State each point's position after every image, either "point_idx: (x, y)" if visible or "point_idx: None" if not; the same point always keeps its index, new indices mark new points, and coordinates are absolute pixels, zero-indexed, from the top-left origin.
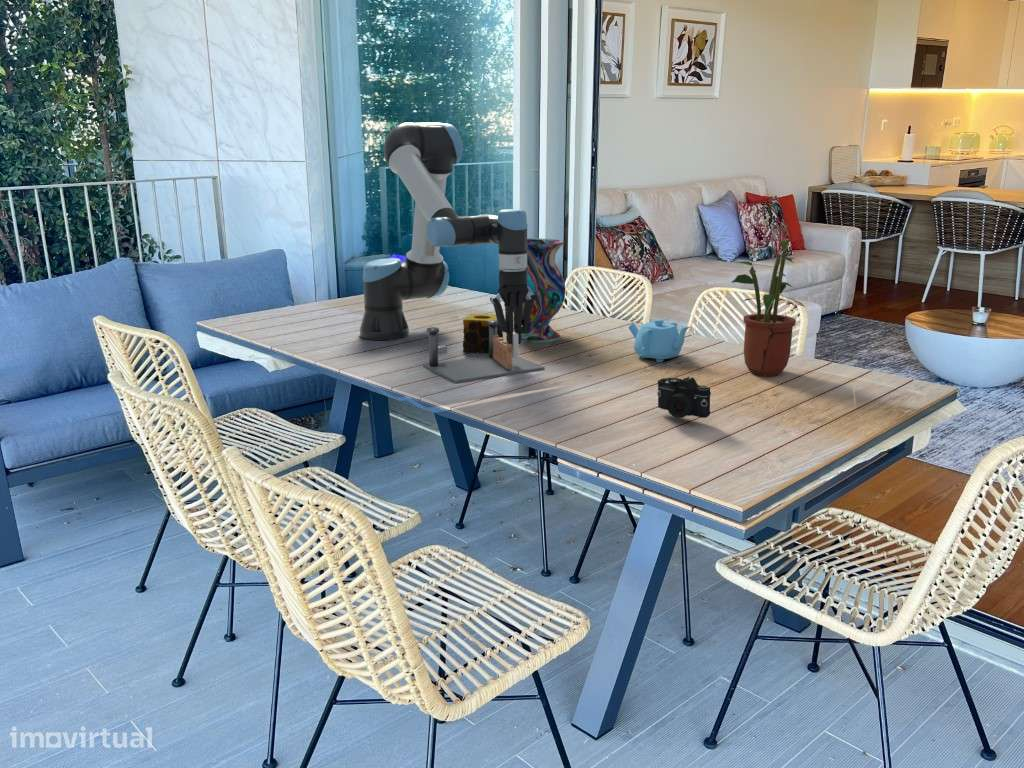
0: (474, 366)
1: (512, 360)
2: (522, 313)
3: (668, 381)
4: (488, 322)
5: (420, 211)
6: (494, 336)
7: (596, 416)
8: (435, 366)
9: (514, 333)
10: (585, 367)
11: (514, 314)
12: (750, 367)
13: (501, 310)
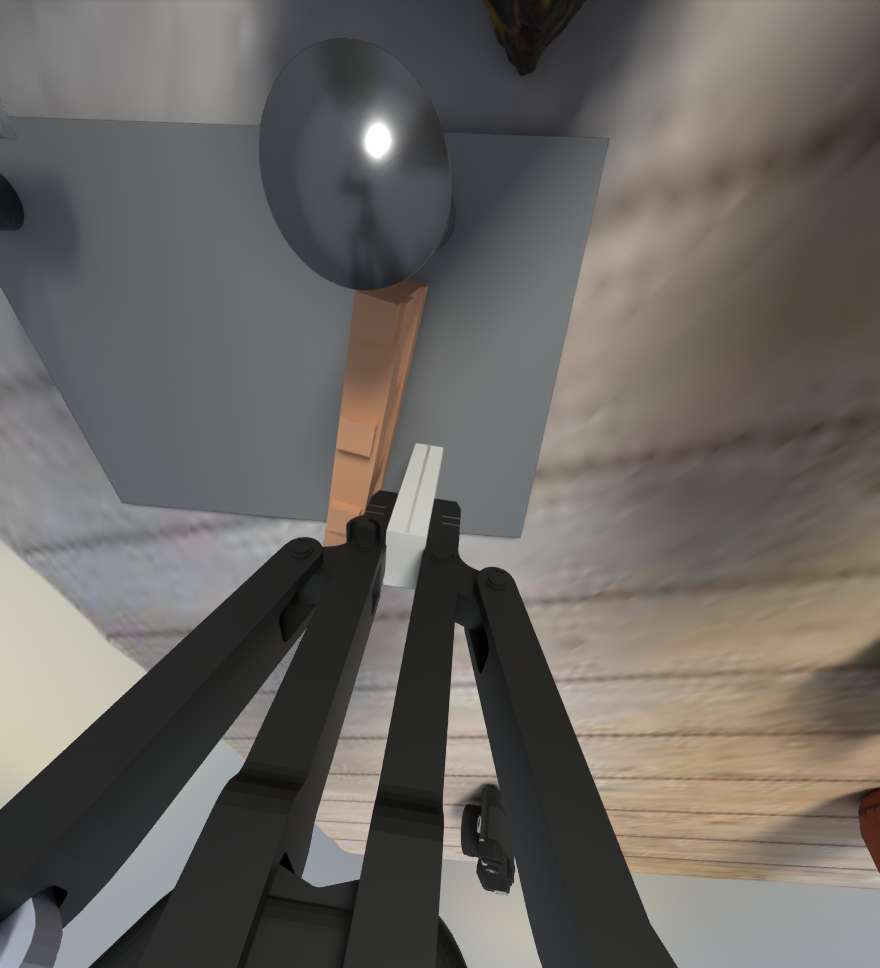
0: (238, 363)
1: (477, 371)
2: (511, 701)
3: (485, 865)
4: (266, 193)
5: None
6: (354, 326)
7: (372, 757)
8: (8, 230)
9: (399, 574)
10: (661, 586)
11: (396, 695)
12: (872, 815)
13: (163, 790)
